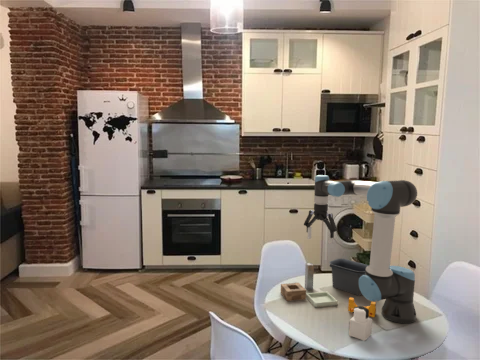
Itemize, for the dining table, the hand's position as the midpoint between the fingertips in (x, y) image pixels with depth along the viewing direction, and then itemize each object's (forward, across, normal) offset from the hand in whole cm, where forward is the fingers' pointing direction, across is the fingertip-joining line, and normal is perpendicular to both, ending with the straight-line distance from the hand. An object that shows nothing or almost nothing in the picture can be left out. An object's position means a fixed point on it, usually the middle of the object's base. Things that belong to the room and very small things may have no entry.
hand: (319, 241), depth 219 cm
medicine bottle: (+25, -44, +35) cm, 62 cm away
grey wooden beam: (+25, -1, +10) cm, 27 cm away
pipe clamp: (+25, -34, +15) cm, 45 cm away
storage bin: (+25, -16, -6) cm, 31 cm away
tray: (+25, -14, +18) cm, 34 cm away
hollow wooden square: (+25, 0, +24) cm, 34 cm away
